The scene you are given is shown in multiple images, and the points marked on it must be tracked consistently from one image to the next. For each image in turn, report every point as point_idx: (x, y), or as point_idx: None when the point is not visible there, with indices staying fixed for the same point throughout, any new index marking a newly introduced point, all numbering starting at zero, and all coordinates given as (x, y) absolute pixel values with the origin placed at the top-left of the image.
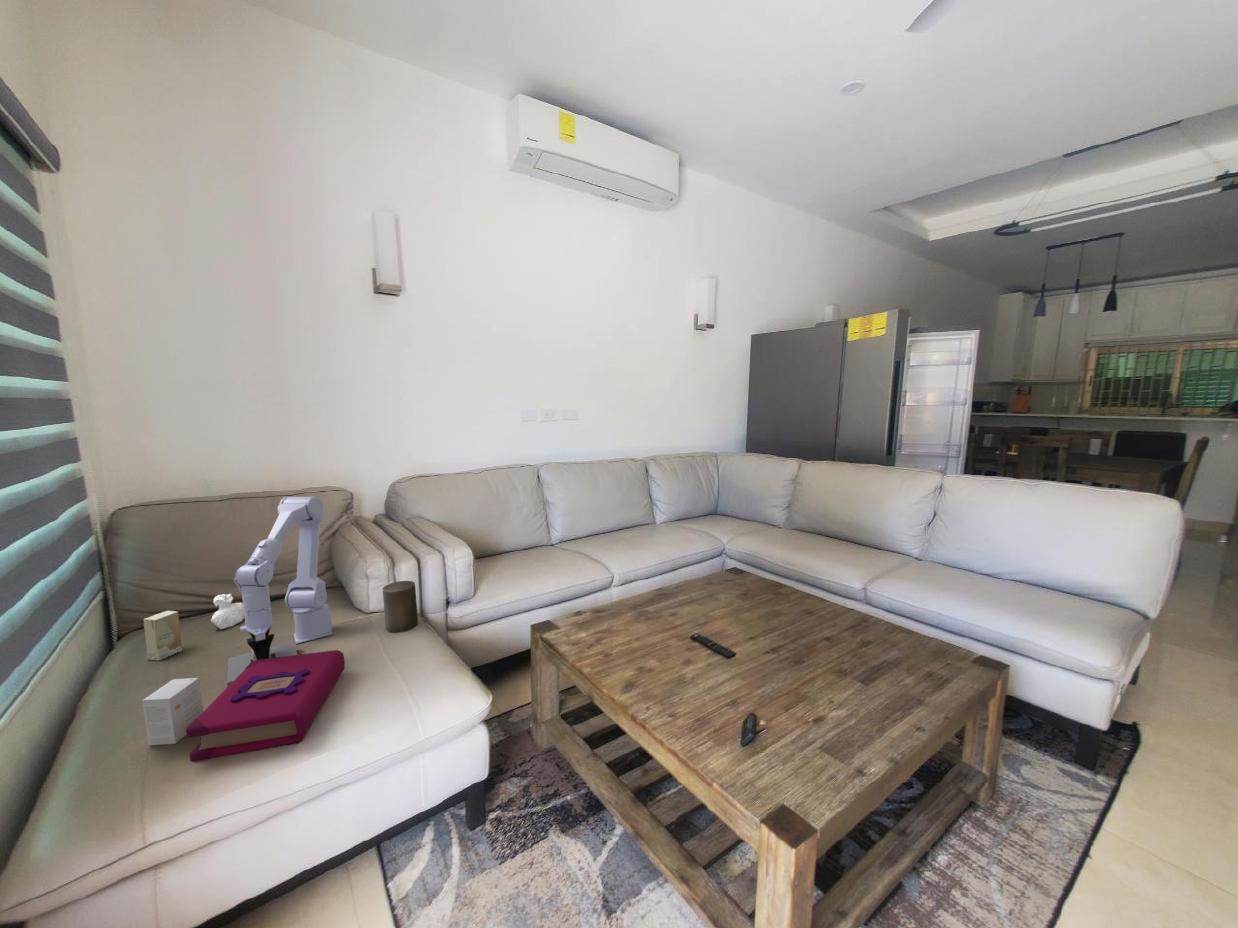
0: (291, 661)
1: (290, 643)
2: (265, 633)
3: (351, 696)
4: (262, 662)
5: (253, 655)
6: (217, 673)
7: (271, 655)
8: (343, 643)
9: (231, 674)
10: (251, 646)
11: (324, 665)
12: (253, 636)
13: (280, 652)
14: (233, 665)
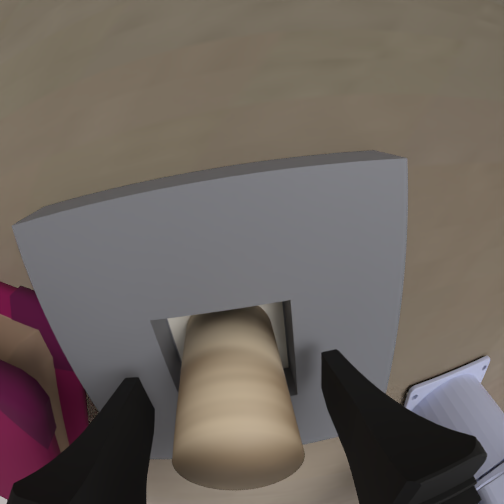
0: (18, 476)
1: None
2: (358, 477)
3: None
4: (10, 425)
5: (194, 374)
6: (339, 95)
7: (295, 375)
8: (294, 482)
9: (104, 224)
10: (34, 476)
11: (2, 495)
12: (367, 439)
13: None
14: (257, 208)
